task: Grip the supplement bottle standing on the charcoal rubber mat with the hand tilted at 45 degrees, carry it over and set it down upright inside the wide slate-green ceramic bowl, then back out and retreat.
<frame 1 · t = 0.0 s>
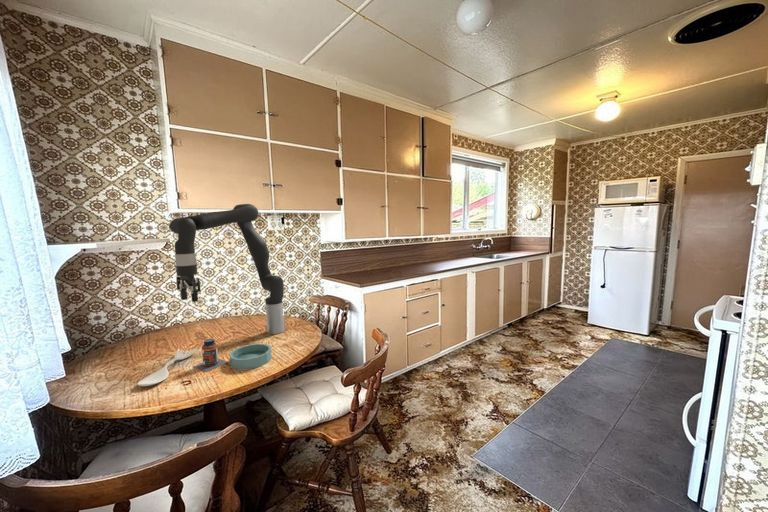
hand: (189, 300, 128), 29 cm above the table, tool pointing down, fingers open, 8 cm apart
bowl: (251, 360, 134), on the table
supplement bottle: (210, 364, 130), resting on mat
spoon: (169, 370, 127), on the table
mat: (210, 364, 130), on the table
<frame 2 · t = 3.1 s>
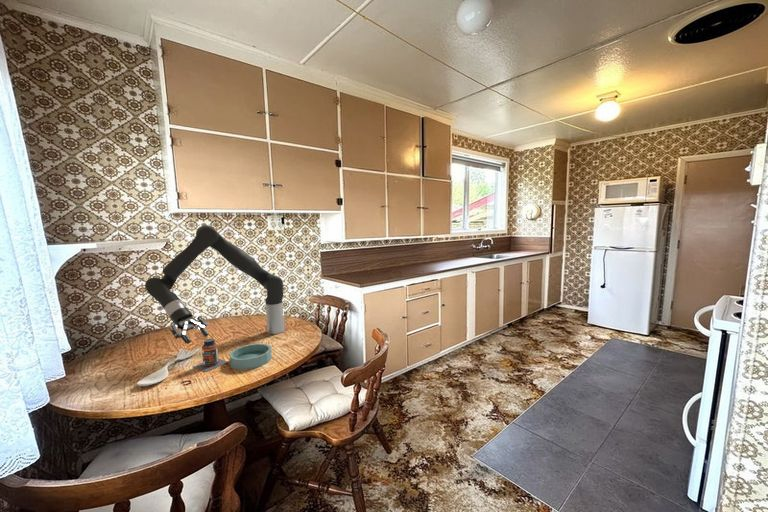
hand: (198, 339, 131), 11 cm above the table, tool tilted 45°, fingers open, 8 cm apart
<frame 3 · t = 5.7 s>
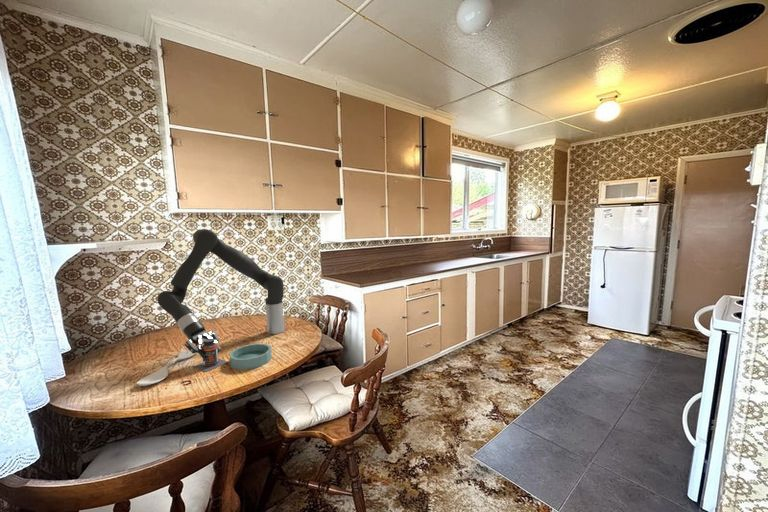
hand: (213, 354, 129), 5 cm above the table, tool tilted 45°, fingers closed on supplement bottle, 6 cm apart
supplement bottle: (210, 364, 130), resting on mat, touching gripper
everything else where it was.
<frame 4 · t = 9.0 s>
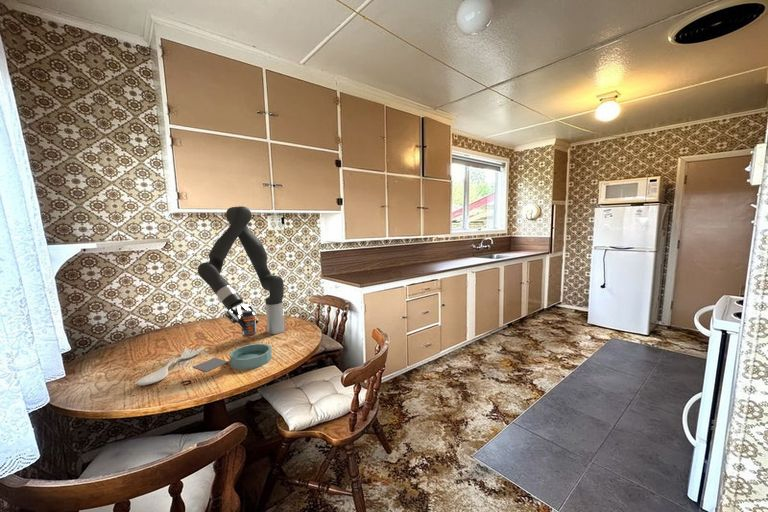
hand: (251, 324, 131), 17 cm above the table, tool tilted 45°, fingers closed on supplement bottle, 6 cm apart
supplement bottle: (249, 335, 133), point 12 cm above the table, touching gripper
when the fingers open (7 cm above the table, at t = 12.3 s): supplement bottle drops 1 cm, resting on bowl.
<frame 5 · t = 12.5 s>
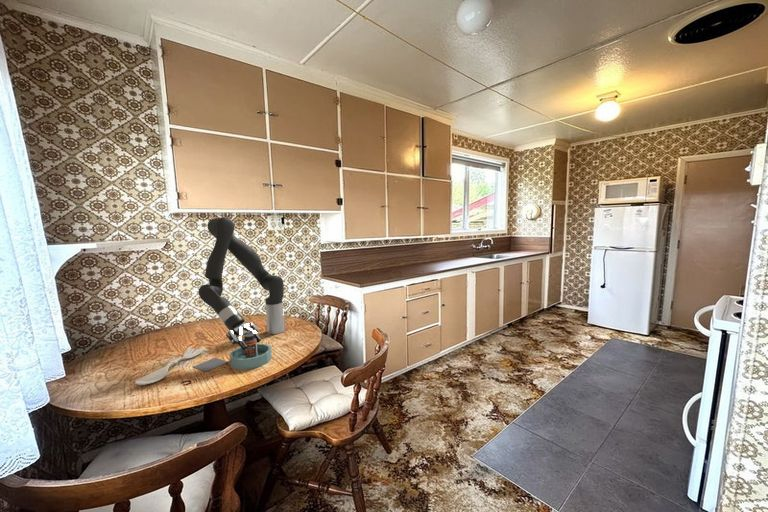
hand: (252, 344, 132), 8 cm above the table, tool tilted 45°, fingers open, 8 cm apart
supplement bottle: (250, 359, 133), point 1 cm above the table, touching bowl
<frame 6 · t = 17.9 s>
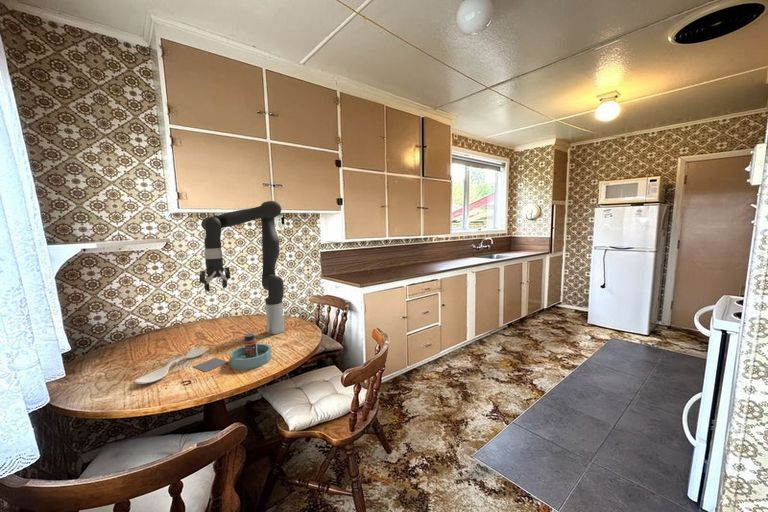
hand: (216, 289, 147), 30 cm above the table, tool pointing down, fingers open, 8 cm apart
at the end: supplement bottle inside the target area on the bowl (0.3 cm from its centre), point 0.8 cm above the bowl's base; supplement bottle tilted 0°; the gripper is holding nothing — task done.
